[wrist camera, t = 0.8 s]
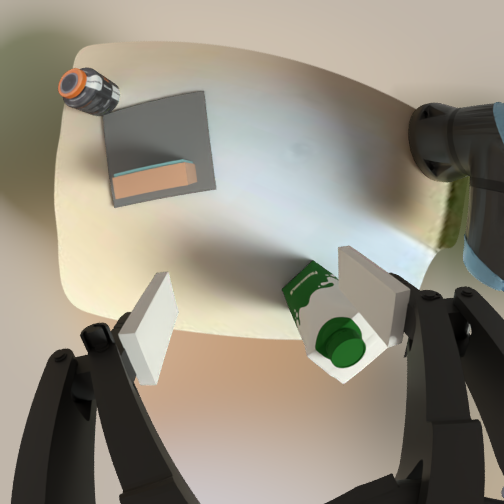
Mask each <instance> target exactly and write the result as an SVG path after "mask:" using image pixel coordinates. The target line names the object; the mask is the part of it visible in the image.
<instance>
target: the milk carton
mask: <svg viewBox="0 0 504 504" xmlns="http://www.w3.org/2000/svg"><path fill="white" fill-rule="evenodd" d="M282 291H283V293H284V296H285V299H286V301H287V304H288V307H289V309H290V312H291V314H292V316H293V319H294V321H295V323H296V326H297V328H298V331H299V333H300V335H301V338H302V340H303V342H304V345H305V349H306V354H307V357H308V358H309V359H311V360H312V361H313V362H314V363H316V364H317V365H318V366H319V367H321V368H322V369H323V370H324V371H326V372H327V373H328V374H329V375H330V376H332V377H335V378H336V379H337V380H339V381H340V382H341V383H343V384H344V383H346V382H347V381H348V380H350V379H351V378H352V377H353V376H355V375H356V374H357V373H358V372H360V371H361V370H362V369H363V368H364V367H366V366H367V365H368V364H369V363H370V362H372V361H373V360H374V359H375V358H376V357H377V356H378V355H380V354H381V353H382V352H383V351H384V350H385V349H386V348H387V346H386V344H385V343H384V342H383V341H382V339H381V338H380V337H379V336H378V335H377V333H376V332H375V331H374V330H373V328H372V327H371V326H370V325H369V324H368V322H367V321H366V320H365V319H364V318H363V316H362V315H361V314H360V313H359V312H358V310H357V309H356V308H355V307H354V306H353V305H352V303H351V302H350V301H349V300H348V299H347V298H346V296H345V295H344V294H343V293H342V292H341V291H340V289H339V280H338V279H337V278H336V277H335V276H334V275H333V274H332V273H330V272H329V271H327V270H326V269H325V268H323V267H322V266H320V265H319V264H318V263H316V262H315V261H312V262H311V263H309V264H308V265H307V266H306V267H305V268H304V269H303V270H302V271H301V272H300V273H299V274H298V275H297V276H296V277H295V278H294V279H292V280H291V281H290V282H289V283H288V284H287V285H286V286H285V287H284V288H283V289H282Z"/></svg>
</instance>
